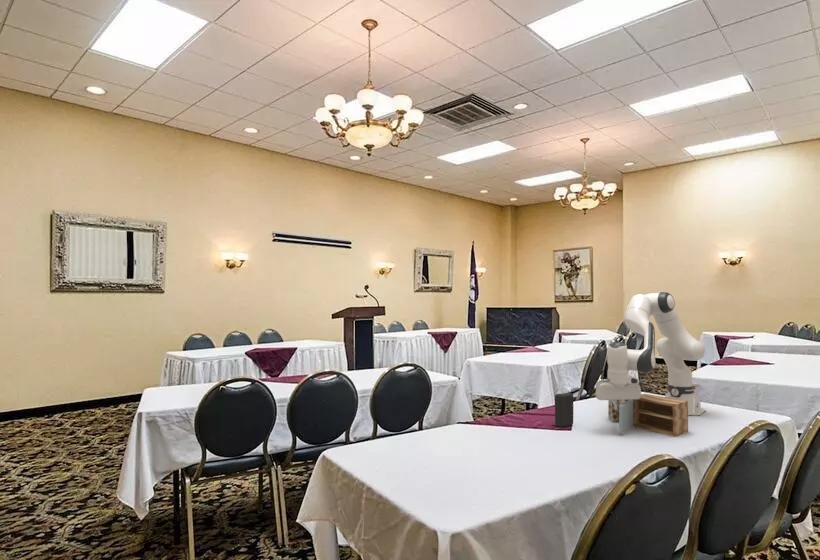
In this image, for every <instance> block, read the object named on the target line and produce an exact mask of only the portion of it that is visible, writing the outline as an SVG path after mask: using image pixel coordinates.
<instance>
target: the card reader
mask: <svg viewBox="0 0 820 560" xmlns="http://www.w3.org/2000/svg"><path fill="white" fill-rule="evenodd" d="M554 424H555V426H556V427H559V428H563V426H564V427H569V426H572V425H573V424H574V394H573V393H570V392H564V393H563V392H562V393H556V394H555V395H554Z"/></svg>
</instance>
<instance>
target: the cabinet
mask: <svg viewBox="0 0 820 560" xmlns="http://www.w3.org/2000/svg"><path fill="white" fill-rule="evenodd" d="M631 428H635V429H641V430H645V431H648V432H654V433H658V434H662V435H667V436H671V437H674V438H675V437H678V436H682V435H685V434H686V433H689V415H688V401H685V400H679V399H673V398H667V397H665V396H661V395H655V394H650V393H648V394H647V393H643V394H642V393H641V398H640V399H633V426H632V427H631Z"/></svg>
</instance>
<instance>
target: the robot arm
mask: <svg viewBox="0 0 820 560" xmlns="http://www.w3.org/2000/svg"><path fill="white" fill-rule="evenodd" d="M675 304H676V303H675V298H674V297H673V294H671V293H670V292H667V291H666V292H665V291H660V292H652V293H647V294H641V293H639V294H638V293H637V294H634V295H633V296H632V297H631V298H630V299H629V301H628V304H627V307H626V309H625V312H624V316H623V322H624V325H625V326H626V328H628V329H629V330H631V332H634V333H637V334H639V335H641V336H642V337H643V339H644V340H643V348H642V349H630V348H628V345H627V344H626V343H624V342H611V343H609V345H608V350H607V355H606V358H607V360H606V363H607V378H604V379H602V378H600V379H598V380H597V381H596V383H595V386H596V388H595V398H596V399H597V400H599V401H608V400H612V403H613V404H614V409H615V410H619V406H620V405H622V404H623V403H625V400H633V399H640V398H641V394H642V391H641V386H640V379H639V378H637V377H634V376H632V375H629V371H632V372H633V371H635V372H641V373H646V374H648V373H650V372H652V371H653V370H654V369H655V368H656V352H657V353H658V354H659V355H660V356H661V357H662V359H663V360H664V362H665V365H666V369H667V377H668V378H667V379H668V384H667V387H666V388H667V393H665V396H664V397H667V398H673V399H679V400H685V401H688V416H698V415H699V416H701V415H702V414H703V412H704V411H705V412H707V411H706V408H704V407H701V399H700V398H699V397H698V396H697V395H696V394H695V390H697V387H696V385H693V372H692V370H691V369H690V368H689V367H688V366H687V364H686V363H685V361H699V360H701V359H703V357H704V356H705V353H706V348H705V345H704V344H703V343H702V342H701V341H700V340H697V339H696V338H695V337H694V336H693V335H691V334H690V332H688V330H687V329H686V328H685V327H684V325H683V322H682V321H681V320H680V316H679V314H678V312H677V310H676V309H675ZM650 316H653V319H654V321H655V323H656V326H657V328H658V331H659V333H660V334H661V335H662V336H663V337H662V338H659V339H658V340H657V343H656V333H655V332H656V331H655V330H656V329H655V325H654V324H653V323H652V322H651V321H650ZM655 345H656V346H655ZM655 349H656V350H655ZM655 351H656V352H655ZM684 360H685V361H684ZM617 400H619V401H621V402H620V404H619V405H617V404H616V402H617ZM705 412H704V413H705Z"/></svg>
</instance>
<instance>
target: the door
mask: <svg viewBox="0 0 820 560" xmlns="http://www.w3.org/2000/svg"><path fill="white" fill-rule="evenodd" d="M618 424H619V434H620V435H623V434H624V433H626V432H627V431H628V430H629V429H631V428H633V427H632V426H633V400H628V401H627V402H625V403H623V404H622V405H620V406H619V422H618Z"/></svg>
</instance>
